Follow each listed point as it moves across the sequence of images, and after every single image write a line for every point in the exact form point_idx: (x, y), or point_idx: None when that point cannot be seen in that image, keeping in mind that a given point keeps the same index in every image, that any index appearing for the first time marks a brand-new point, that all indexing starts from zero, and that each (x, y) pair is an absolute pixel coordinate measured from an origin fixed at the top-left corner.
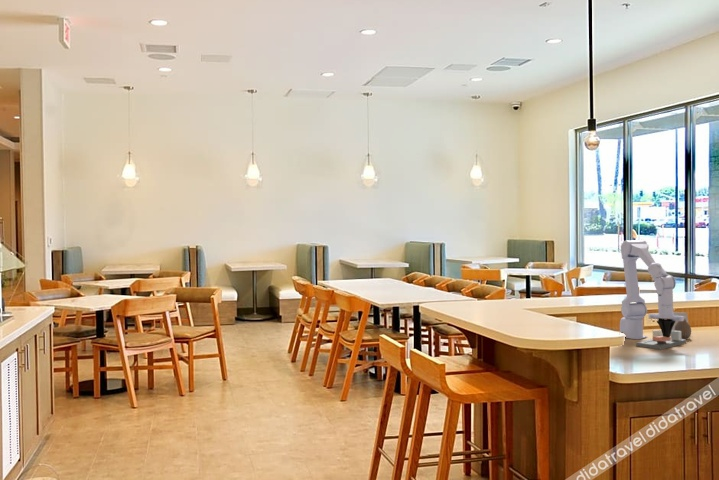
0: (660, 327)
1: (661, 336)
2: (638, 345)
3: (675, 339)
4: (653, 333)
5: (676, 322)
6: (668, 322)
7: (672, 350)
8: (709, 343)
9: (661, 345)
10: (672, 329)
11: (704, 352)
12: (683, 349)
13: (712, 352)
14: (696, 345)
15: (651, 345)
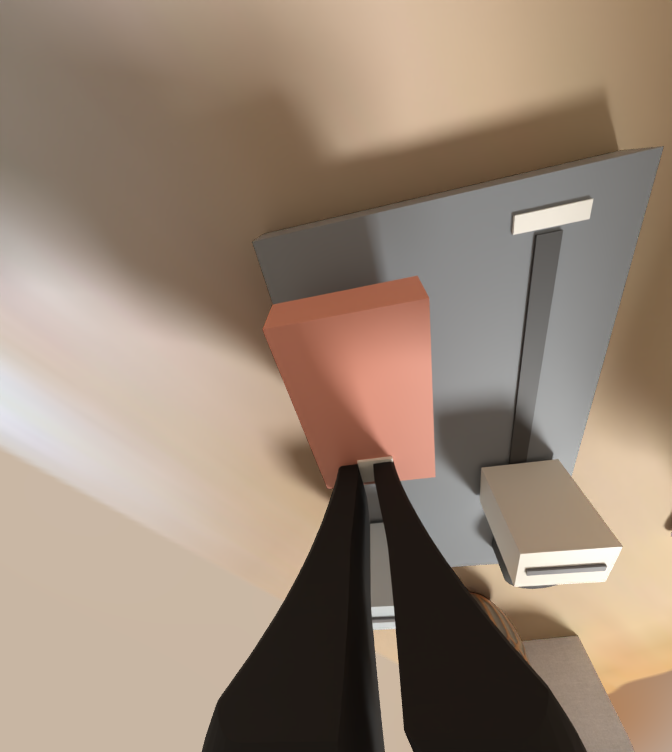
0: (443, 567)
1: (417, 457)
2: (591, 157)
3: (378, 529)
4: (583, 510)
5: (583, 731)
6: (210, 739)
7: (174, 298)
8: (287, 594)
9: (269, 271)
10: (581, 668)
11: (29, 426)
12: (186, 404)
13: (24, 459)
14: (275, 539)
15: (388, 210)
